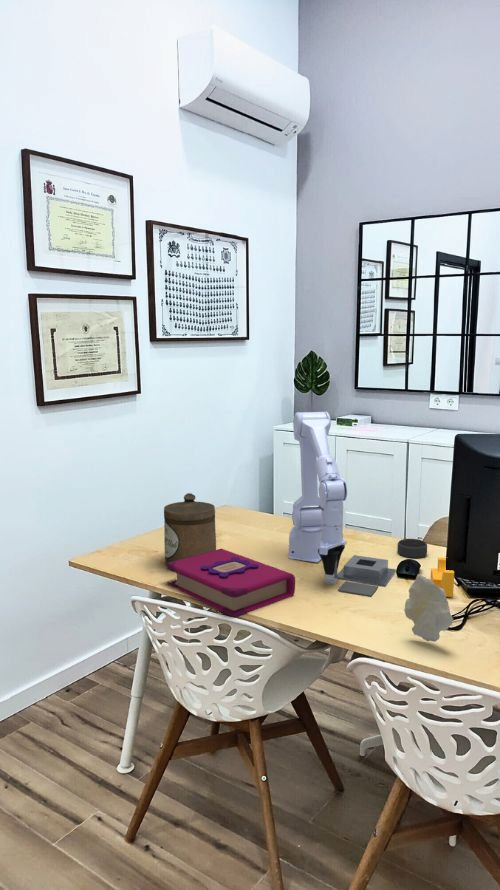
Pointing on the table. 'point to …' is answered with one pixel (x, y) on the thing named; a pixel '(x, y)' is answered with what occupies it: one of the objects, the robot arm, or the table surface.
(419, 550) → the smart speaker
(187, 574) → the book
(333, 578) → the orange and grey block
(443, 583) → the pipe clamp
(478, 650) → the table surface
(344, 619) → the table surface
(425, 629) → the stone tool
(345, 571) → the block
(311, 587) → the table surface
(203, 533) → the wooden container
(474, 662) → the table surface
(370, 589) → the mat
